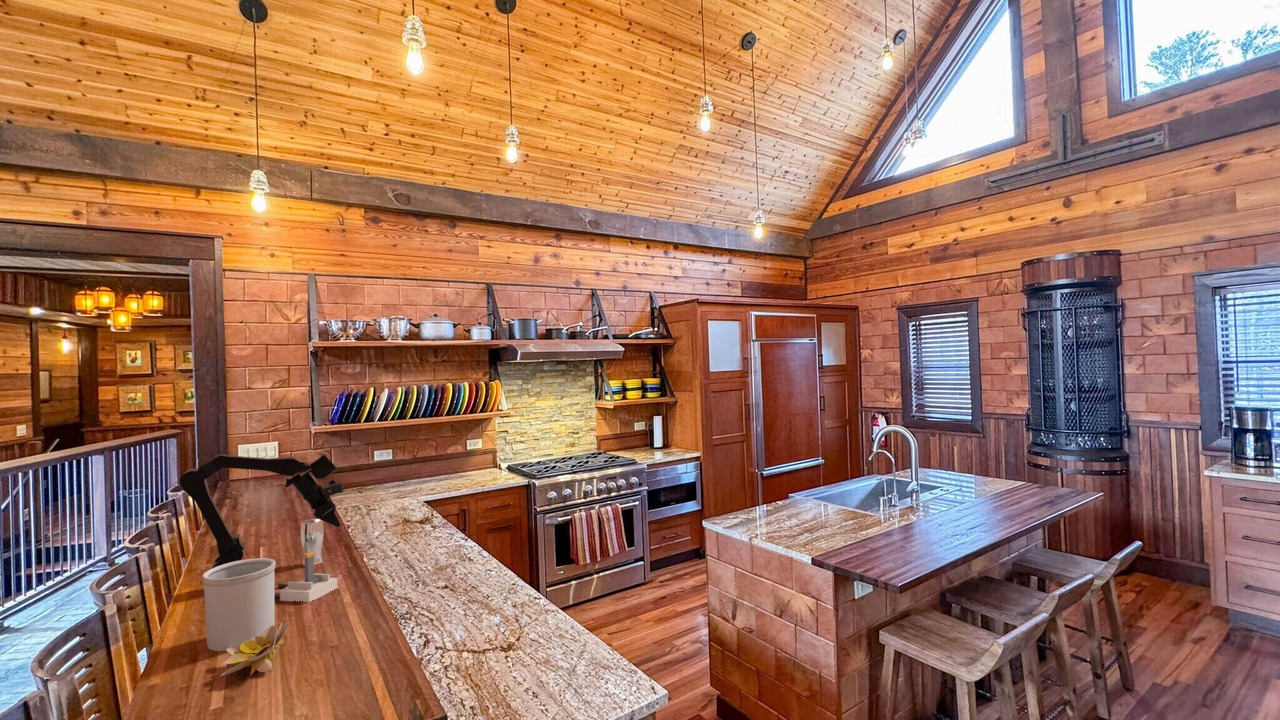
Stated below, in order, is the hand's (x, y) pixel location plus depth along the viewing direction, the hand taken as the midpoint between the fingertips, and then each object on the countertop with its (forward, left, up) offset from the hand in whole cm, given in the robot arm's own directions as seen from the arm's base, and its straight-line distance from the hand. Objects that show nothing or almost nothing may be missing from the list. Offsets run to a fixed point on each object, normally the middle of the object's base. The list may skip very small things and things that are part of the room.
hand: (337, 523), depth 190 cm
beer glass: (-1, +12, -15) cm, 19 cm away
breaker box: (-21, -10, -15) cm, 27 cm away
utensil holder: (-44, -27, -15) cm, 54 cm away
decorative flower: (-50, -45, -15) cm, 69 cm away
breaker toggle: (-19, -15, -12) cm, 27 cm away
